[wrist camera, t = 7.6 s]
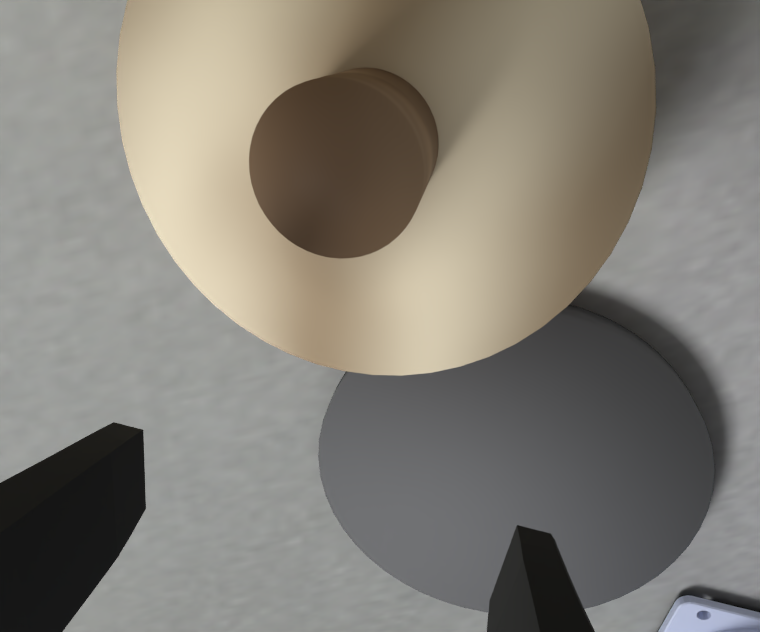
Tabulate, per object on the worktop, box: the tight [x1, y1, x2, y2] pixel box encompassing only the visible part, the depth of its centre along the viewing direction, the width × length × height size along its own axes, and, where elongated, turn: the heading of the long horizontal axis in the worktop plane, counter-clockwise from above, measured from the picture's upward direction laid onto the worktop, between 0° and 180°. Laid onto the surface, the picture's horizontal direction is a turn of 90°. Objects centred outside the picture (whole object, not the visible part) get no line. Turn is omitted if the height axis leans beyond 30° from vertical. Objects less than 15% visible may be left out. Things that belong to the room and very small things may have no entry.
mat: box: [319, 305, 715, 612], centre depth 22 cm, size 14×14×1 cm
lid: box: [117, 0, 656, 376], centre depth 12 cm, size 12×12×4 cm
